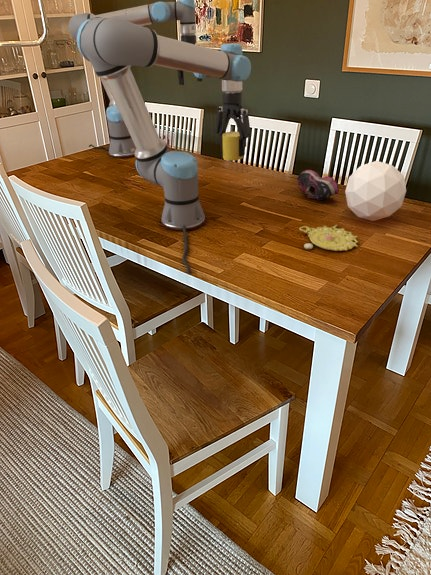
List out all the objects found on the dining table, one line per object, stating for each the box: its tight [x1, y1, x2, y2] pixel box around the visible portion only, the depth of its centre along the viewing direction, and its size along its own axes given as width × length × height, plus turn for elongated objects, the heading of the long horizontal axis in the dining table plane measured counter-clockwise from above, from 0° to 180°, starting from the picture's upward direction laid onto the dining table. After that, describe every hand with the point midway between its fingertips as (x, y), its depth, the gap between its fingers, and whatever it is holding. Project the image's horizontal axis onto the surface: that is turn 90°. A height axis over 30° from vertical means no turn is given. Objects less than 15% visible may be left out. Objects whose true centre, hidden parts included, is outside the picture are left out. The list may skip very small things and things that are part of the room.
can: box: [222, 131, 244, 161], centre depth 173 cm, size 8×8×9 cm
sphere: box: [344, 160, 407, 222], centre depth 150 cm, size 19×20×20 cm
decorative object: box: [299, 224, 359, 252], centre depth 141 cm, size 21×2×20 cm
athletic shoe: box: [294, 169, 340, 201], centre depth 171 cm, size 11×22×12 cm
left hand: (190, 83), depth 223 cm, fingers open, 13 cm apart
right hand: (232, 153), depth 174 cm, fingers closed on can, 8 cm apart
